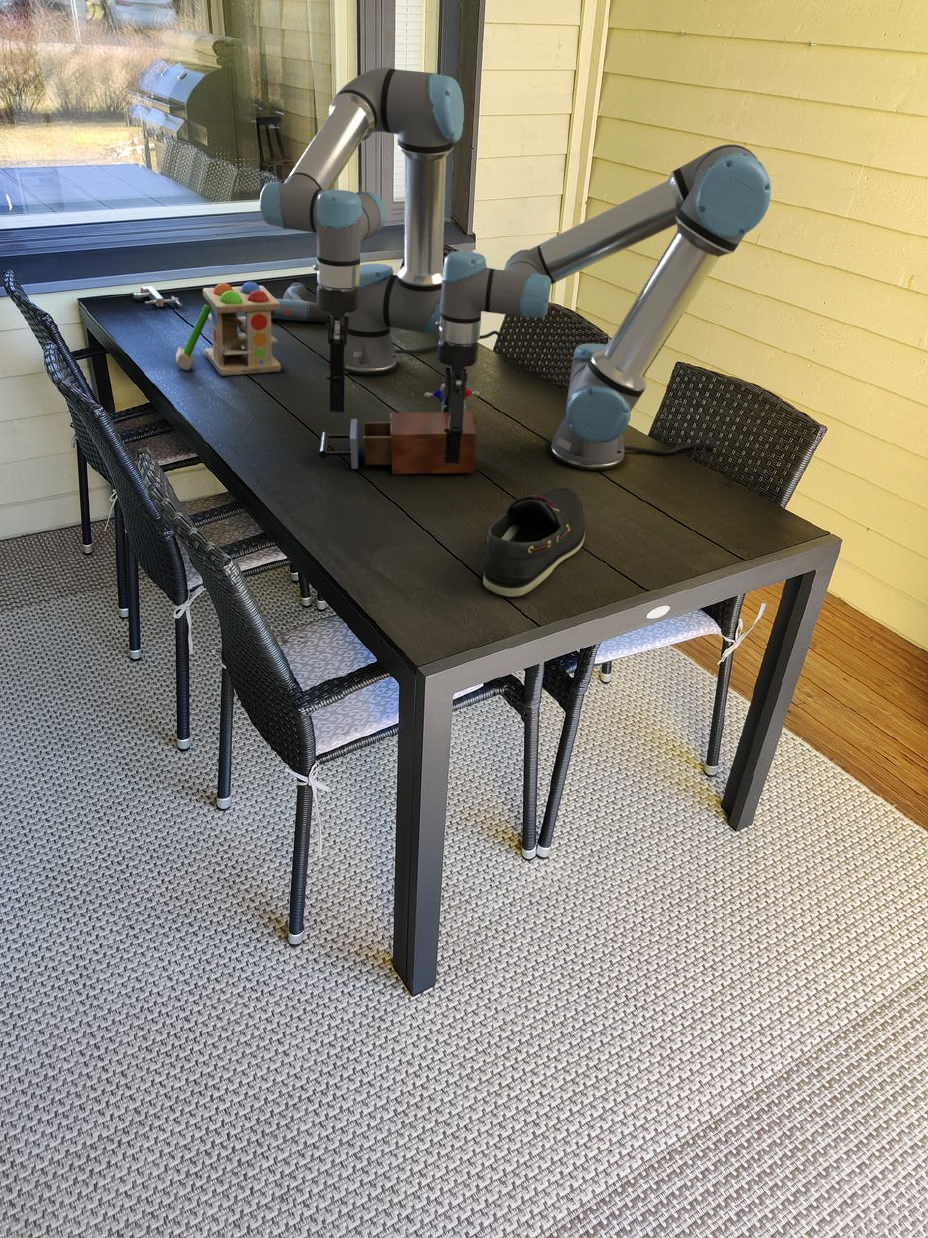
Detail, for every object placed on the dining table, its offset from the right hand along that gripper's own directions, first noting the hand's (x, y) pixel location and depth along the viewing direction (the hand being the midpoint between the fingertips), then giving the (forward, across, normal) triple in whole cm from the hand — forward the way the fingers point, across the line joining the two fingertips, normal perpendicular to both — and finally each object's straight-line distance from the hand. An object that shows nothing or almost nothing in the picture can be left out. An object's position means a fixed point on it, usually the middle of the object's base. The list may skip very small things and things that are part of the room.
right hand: (449, 449), depth 194 cm
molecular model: (+3, -21, +1) cm, 21 cm away
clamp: (+3, -92, -74) cm, 118 cm away
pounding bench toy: (+3, -48, -50) cm, 70 cm away
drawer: (+2, 0, -15) cm, 15 cm away
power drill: (+3, -91, -34) cm, 97 cm away
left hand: (-7, 0, -22) cm, 23 cm away
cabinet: (+3, 0, -3) cm, 4 cm away
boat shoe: (+3, +34, +13) cm, 36 cm away
